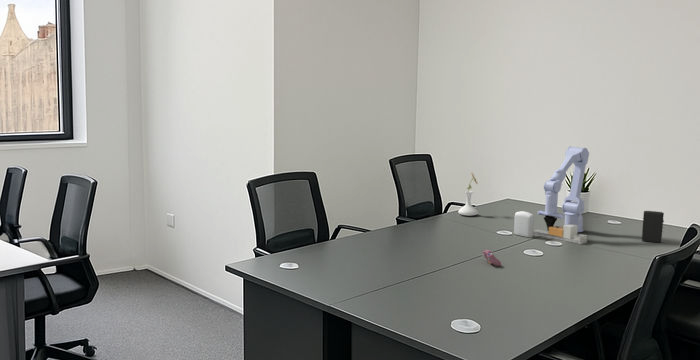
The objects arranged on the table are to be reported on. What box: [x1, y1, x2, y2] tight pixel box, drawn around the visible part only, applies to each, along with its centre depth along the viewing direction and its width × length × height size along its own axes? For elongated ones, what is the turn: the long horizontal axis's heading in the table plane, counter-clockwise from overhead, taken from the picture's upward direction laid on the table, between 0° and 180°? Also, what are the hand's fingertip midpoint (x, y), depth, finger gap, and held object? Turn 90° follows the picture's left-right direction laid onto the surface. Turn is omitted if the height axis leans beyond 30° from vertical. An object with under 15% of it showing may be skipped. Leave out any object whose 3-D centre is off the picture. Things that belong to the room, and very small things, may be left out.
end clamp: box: [548, 225, 563, 237], centre depth 343 cm, size 6×8×4 cm
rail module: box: [562, 224, 578, 239], centre depth 339 cm, size 6×4×6 cm, turn 130°
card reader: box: [641, 210, 665, 244], centre depth 338 cm, size 9×4×15 cm, turn 65°
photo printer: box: [513, 210, 535, 238], centre depth 347 cm, size 10×4×12 cm, turn 39°
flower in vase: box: [457, 171, 479, 217], centre depth 398 cm, size 13×11×25 cm
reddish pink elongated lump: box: [482, 249, 502, 267], centre depth 294 cm, size 10×5×7 cm, turn 6°
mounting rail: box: [533, 228, 588, 245], centre depth 344 cm, size 6×29×4 cm, turn 40°
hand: (549, 230), depth 347 cm, fingers closed
